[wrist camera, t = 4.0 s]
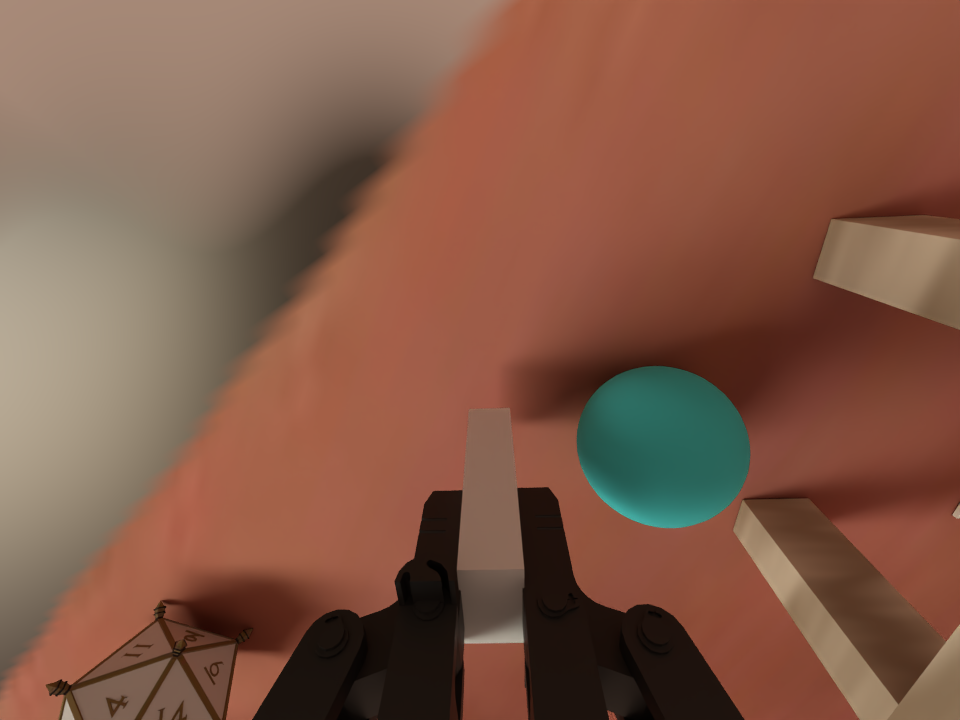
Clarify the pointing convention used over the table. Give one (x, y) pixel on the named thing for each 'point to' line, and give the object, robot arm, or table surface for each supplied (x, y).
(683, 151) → the table surface
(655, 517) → the ball
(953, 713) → the bridge
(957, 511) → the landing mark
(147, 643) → the game die
